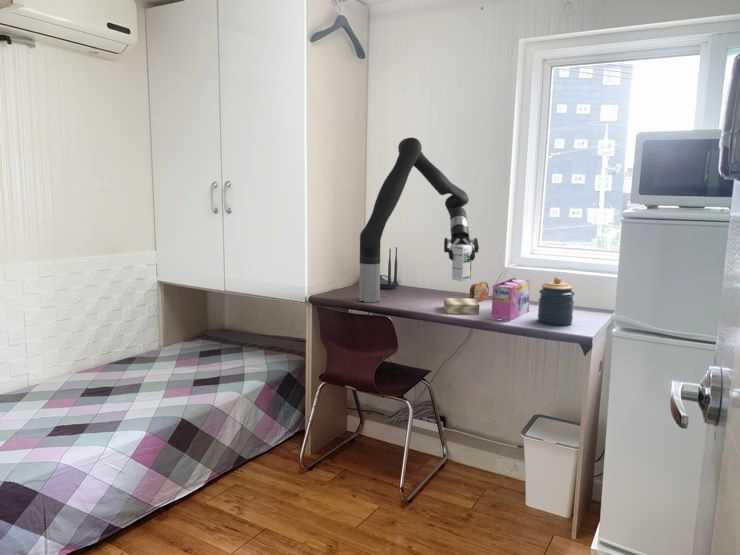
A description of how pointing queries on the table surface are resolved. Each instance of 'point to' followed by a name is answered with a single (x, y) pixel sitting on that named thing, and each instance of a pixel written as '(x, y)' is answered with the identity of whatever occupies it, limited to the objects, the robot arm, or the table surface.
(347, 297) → the table surface
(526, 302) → the gum box
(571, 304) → the canister
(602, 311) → the table surface
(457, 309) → the birch plinth
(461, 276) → the syrup box
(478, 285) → the tin
